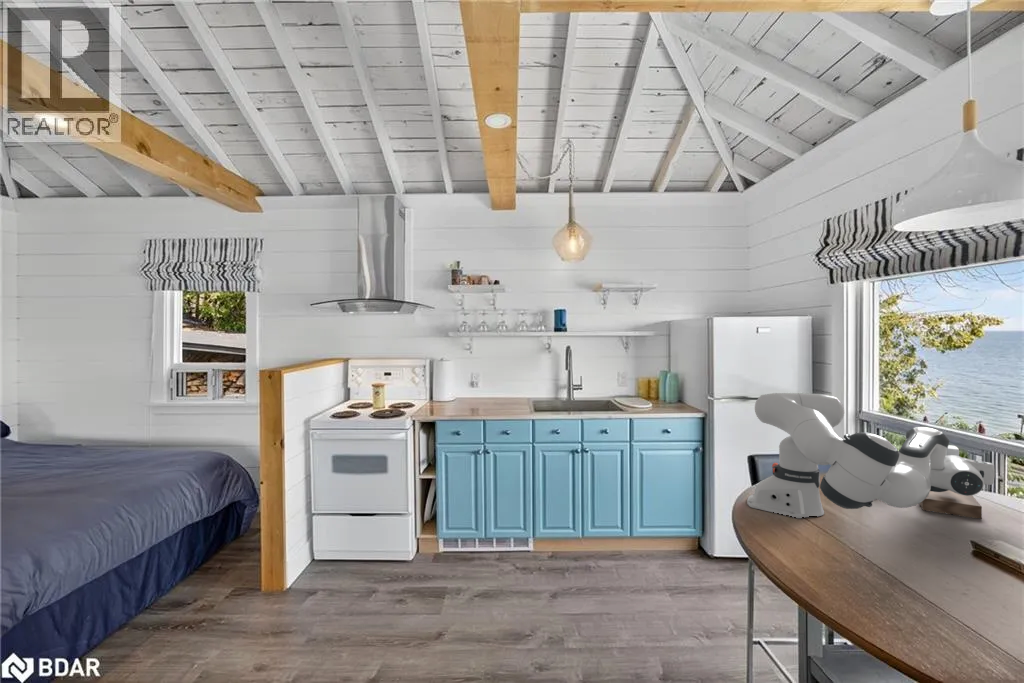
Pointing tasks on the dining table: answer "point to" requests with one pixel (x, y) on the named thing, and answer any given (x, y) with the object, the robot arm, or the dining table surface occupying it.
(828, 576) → the dining table surface
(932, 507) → the stand
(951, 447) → the block
